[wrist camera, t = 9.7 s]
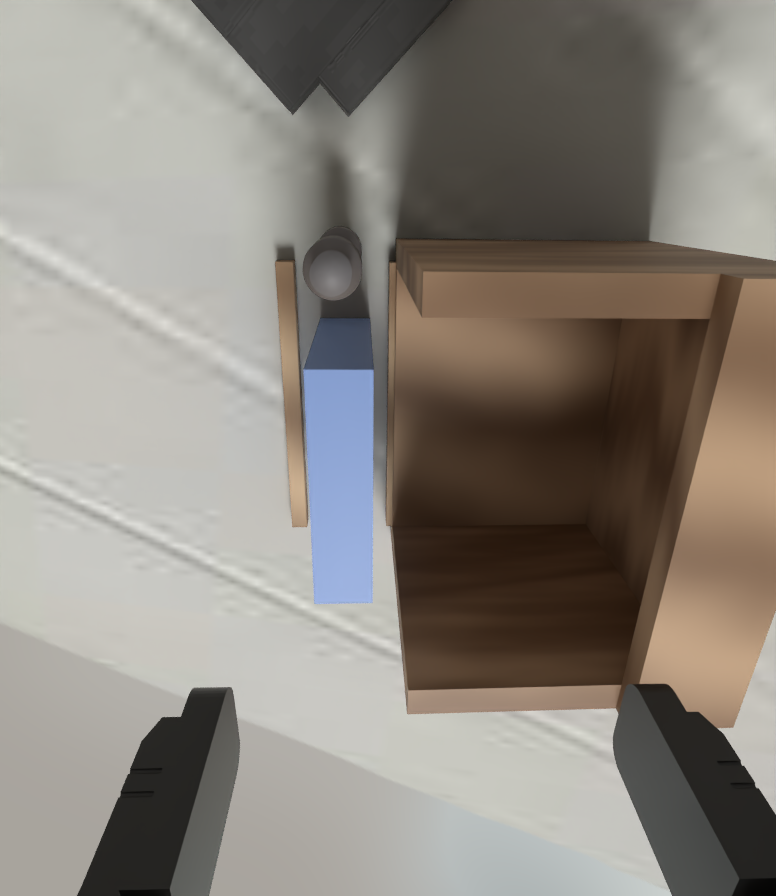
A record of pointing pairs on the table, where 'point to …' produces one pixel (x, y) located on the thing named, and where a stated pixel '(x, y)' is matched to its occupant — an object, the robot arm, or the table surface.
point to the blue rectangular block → (341, 459)
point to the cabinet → (568, 466)
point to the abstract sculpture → (321, 42)
